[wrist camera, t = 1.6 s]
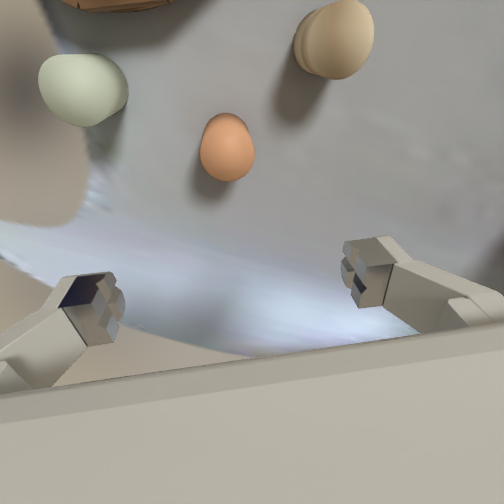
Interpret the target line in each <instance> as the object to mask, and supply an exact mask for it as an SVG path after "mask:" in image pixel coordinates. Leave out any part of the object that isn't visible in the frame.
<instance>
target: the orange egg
mask: <svg viewBox="0 0 504 504" xmlns="http://www.w3.org/2000/svg"><path fill="white" fill-rule="evenodd" d="M200 157H201V162H202V164H203V166H204V168H205V170H206V171H207V172H208V173H209V174H210V175H211V176H213V177H214V178H216V179H218V180H221V181H235V180H238V179H240V178H242V177H243V176H245V175H246V174H247V173H248V172H249V170H250V169H251V167H252V165H253V162H254V157H255V152H254V147H253V143H252V140H251V137H250V134H249V131H248V128H247V126H246V124H245V123H244V122H243V121H242V120H241V119H240V118H239V117H238V116H236V115H234V114H230V113H221V114H218V115H216V116H214V117H213V118H211V119H210V120H209V122H208V123H207V125H206V127H205V129H204V134H203V139H202V144H201V149H200Z"/></svg>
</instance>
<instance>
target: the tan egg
mask: <svg viewBox="0 0 504 504" xmlns="http://www.w3.org/2000/svg"><path fill="white" fill-rule="evenodd" d="M373 40H374V24H373V20H372V17H371V15H370V13H369V11H368V9H367V8H366V7H365V6H364V5H363V4H362V3H360V2H358V1H355V0H340V1H337V2H335V3H332V4H330V5H327V6H325V7H322V8H320V9H317V10H315V11H313V12H311V13H309V14H308V15H307V16H306V17H305V18H304V19H303V20H302V21H301V23H300V24H299V26H298V28H297V30H296V33H295V37H294V45H293V47H294V55H295V58H296V61H297V62H298V64H299V66H300V67H301V68H302V69H303V70H305V71H306V72H308V73H311V74H315V75H318V76H322V77H325V78H329V79H334V80H339V79H344V78H347V77H349V76H351V75H352V74H354V73H355V72H356V71H358V70H359V69H360V68H361V67H362V65H363V64H364V63H365V61H366V60H367V58H368V56H369V54H370V51H371V49H372V45H373Z"/></svg>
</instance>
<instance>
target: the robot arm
mask: <svg viewBox="0 0 504 504" xmlns="http://www.w3.org/2000/svg"><path fill="white" fill-rule="evenodd" d="M343 253H344V255H345V257H344V259H343V260H342V261H341V276H342V279H343V282H344V284H345V286H346V287H348V288H350V289H352V290H351V296H352V298H353V300H354V302H355V303H356V305H357V307H358V308H367V307H376V306H383V307H384V308H385V309H386V310H388V311H389V312H391V313H392V314H394V315H395V316H397V317H398V318H400V319H401V320H402V321H404V322H405V323H407V324H408V325H410V326H411V327H413V328H414V329H416V330H417V331H418V332H420V333H421V334H417V335H410V336H404V337H397V338H390V339H383V340H376V341H369V342H362V343H355V344H348V345H341V346H334V347H327V348H320V349H313V350H306V351H299V352H292V353H285V354H278V355H271V356H264V357H257V358H250V359H243V360H236V361H230V362H223V363H215V364H209V365H202V366H195V367H188V368H181V369H174V370H168V371H160V372H153V373H146V374H140V375H132V376H125V377H118V378H111V379H105V380H97V381H91V382H83V383H76V384H69V385H62V386H56V387H51V386H52V385H53V384H54V383H55V382H56V381H57V380H58V379H59V378H60V377H61V376H62V375H63V374H64V373H65V372H66V370H67V369H68V368H69V367H70V366H71V365H72V364H73V363H74V362H75V361H76V360H77V359H78V358H79V357H80V356H81V355H82V353H83V352H84V351H85V350H86V349H87V347H88V346H95V345H101V344H107V343H113V342H114V340H115V337H116V334H117V331H118V328H119V325H118V323H117V321H118V320H119V319H120V318H121V317H123V314H124V311H125V299H124V295H123V293H122V291H121V290H120V289H118V288H117V287H115V283H116V281H117V280H116V278H115V276H114V275H113V273H111V272H100V273H91V274H82V275H73V276H66V277H63V278H61V280H60V281H59V283H58V284H57V285H56V287H55V288H54V290H53V291H52V293H51V294H50V296H49V297H48V299H47V300H46V302H45V303H44V304H43V306H42V307H41V309H40V310H39V311H35V312H33V313H31V314H30V315H28V316H27V317H25V318H24V319H22V320H21V321H19V322H18V323H16V324H15V325H13V326H12V327H10V328H8V329H7V330H6V331H4V332H2V333H1V334H0V504H504V296H502V295H501V294H500V293H499V292H498V291H495V290H492V289H490V288H487V287H485V286H482V285H480V284H477V283H475V282H472V281H469V280H467V279H464V278H462V277H459V276H457V275H454V274H451V273H449V272H446V271H444V270H441V269H439V268H436V267H433V266H431V265H428V264H426V263H423V262H421V261H413V260H412V259H411V258H410V256H409V255H408V254H407V253H406V252H405V251H404V250H403V249H402V248H401V247H400V246H399V245H398V244H397V243H396V242H395V241H394V240H393V239H392V238H391V237H390V236H388V235H384V236H378V237H373V238H367V239H360V240H353V241H345V243H344V245H343Z"/></svg>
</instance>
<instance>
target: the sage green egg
mask: <svg viewBox="0 0 504 504" xmlns="http://www.w3.org/2000/svg"><path fill="white" fill-rule="evenodd" d="M38 78H39V79H38V80H39V81H38V82H39V88H40V92H41V94H42V97H43V99H44V101H45V102H46V104H47V105H48V107H49V108H50V109H51V110H52V111H53V112H54V114H56V115H57V116H58V117H59V118H60V119H62V120H63V121H65V122H67V123H69V124H71V125H75V126H78V127H90V126H94V125H96V124H98V123H100V122H101V121H103V120H104V119H106V118H108V117H109V116H111V115H113V114H114V113H116V112H117V111H119V110H120V109H122V108H123V107H124V105H125V104H126V102H127V99H128V94H129V89H128V83H127V80H126V77H125V75H124V74H123V72H122V70H121V69H120V68H119V66H118V65H117V64H116V63H115V62H113V61H112V60H111V59H109V58H108V57H106V56H103V55H100V54H95V53H90V54H68V55H56V56H53V57H51V58H49V59H48V60H46V61H45V62H44V63H43V65H42V66H41V69H40V71H39V77H38Z"/></svg>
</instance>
